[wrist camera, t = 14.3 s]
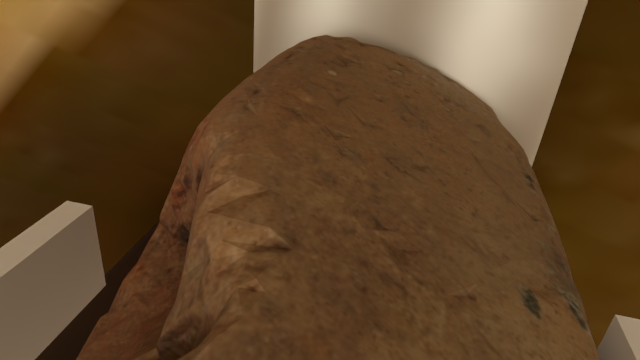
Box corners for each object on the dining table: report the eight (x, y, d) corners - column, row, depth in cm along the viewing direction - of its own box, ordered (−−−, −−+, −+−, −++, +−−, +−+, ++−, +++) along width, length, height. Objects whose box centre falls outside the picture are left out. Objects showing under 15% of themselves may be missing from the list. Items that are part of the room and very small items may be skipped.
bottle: (229, 186, 32) (-29, 484, 14) (269, 266, 34) (87, 605, 17) (151, 207, 34) (-150, 483, 17) (193, 280, 36) (-34, 589, 19)
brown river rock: (533, 126, 21) (915, 928, 4) (433, 234, 25) (409, 893, 8) (333, -7, 21) (-220, 267, 3) (261, 124, 25) (-177, 572, 7)
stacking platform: (272, 187, 31) (250, 218, 27) (282, -48, 24) (255, -46, 21) (490, 229, 29) (497, 270, 25) (567, -17, 22) (590, -8, 19)
